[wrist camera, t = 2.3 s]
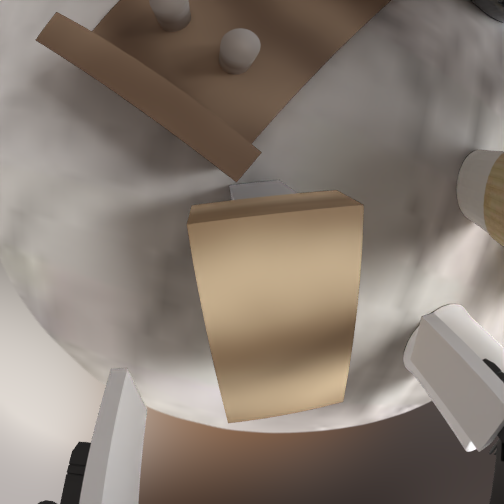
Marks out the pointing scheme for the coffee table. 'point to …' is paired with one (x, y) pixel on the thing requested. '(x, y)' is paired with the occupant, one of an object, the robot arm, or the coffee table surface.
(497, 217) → the coffee cup
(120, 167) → the coffee table surface
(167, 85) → the cradle
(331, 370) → the board
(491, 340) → the mug
